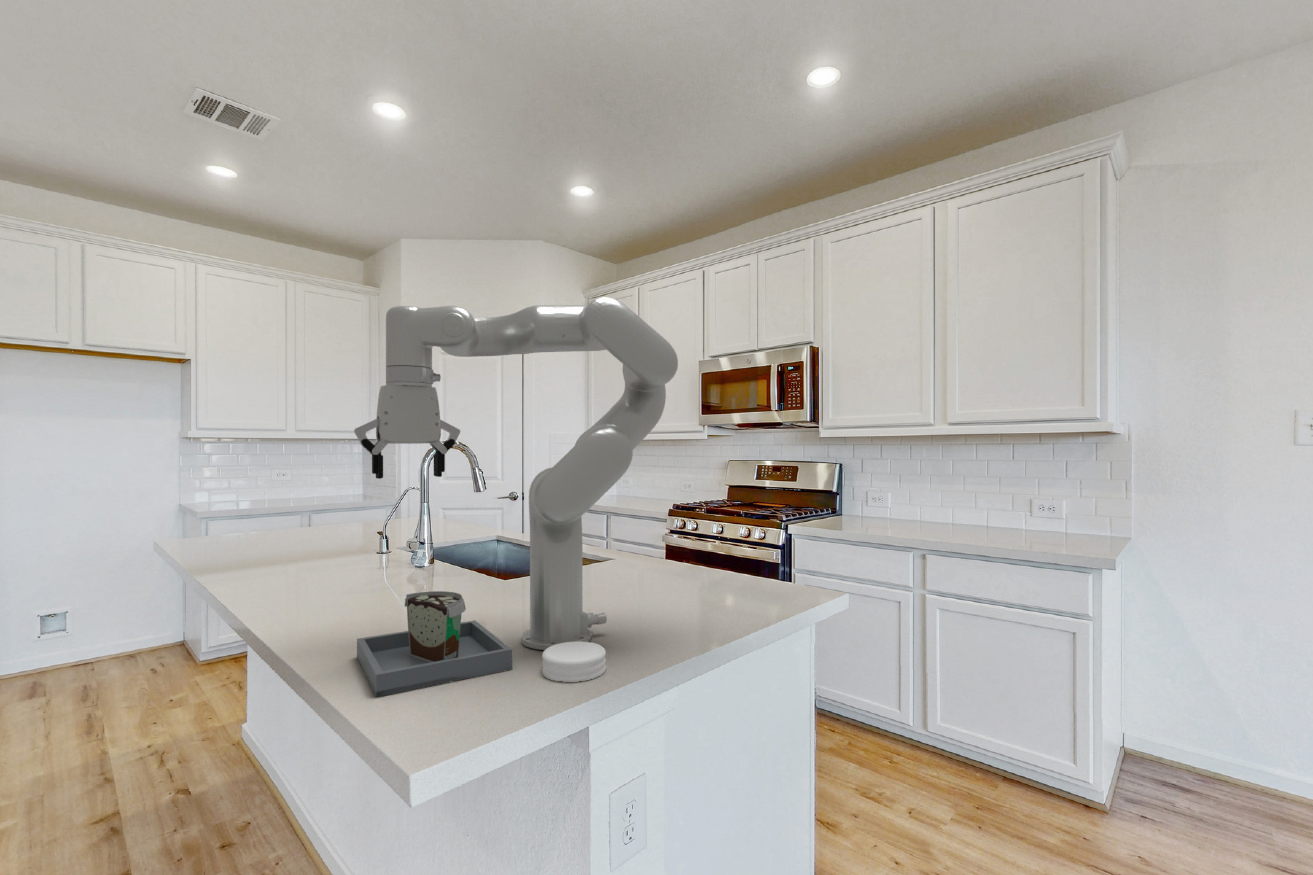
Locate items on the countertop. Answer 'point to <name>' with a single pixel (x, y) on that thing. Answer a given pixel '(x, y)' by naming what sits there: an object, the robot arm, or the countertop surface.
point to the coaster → (573, 661)
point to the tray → (401, 672)
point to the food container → (434, 624)
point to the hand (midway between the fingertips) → (409, 477)
